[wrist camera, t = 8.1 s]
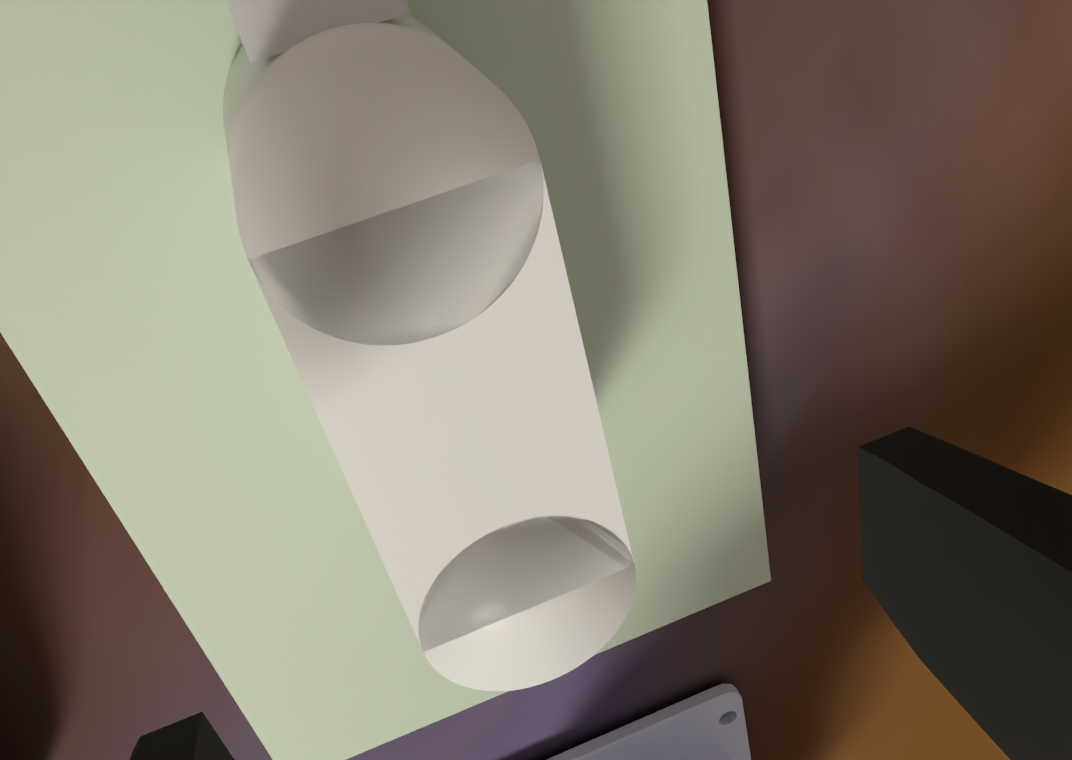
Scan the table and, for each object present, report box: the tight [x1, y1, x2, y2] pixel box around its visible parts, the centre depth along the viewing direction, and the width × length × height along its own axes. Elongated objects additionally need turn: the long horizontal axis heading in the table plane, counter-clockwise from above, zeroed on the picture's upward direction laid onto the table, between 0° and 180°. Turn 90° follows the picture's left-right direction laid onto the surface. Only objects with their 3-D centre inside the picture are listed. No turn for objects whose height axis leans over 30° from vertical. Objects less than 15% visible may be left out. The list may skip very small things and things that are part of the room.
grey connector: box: [223, 0, 636, 691], centre depth 14 cm, size 13×4×4 cm, turn 13°
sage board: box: [0, 0, 771, 760], centre depth 17 cm, size 20×12×1 cm, turn 13°
